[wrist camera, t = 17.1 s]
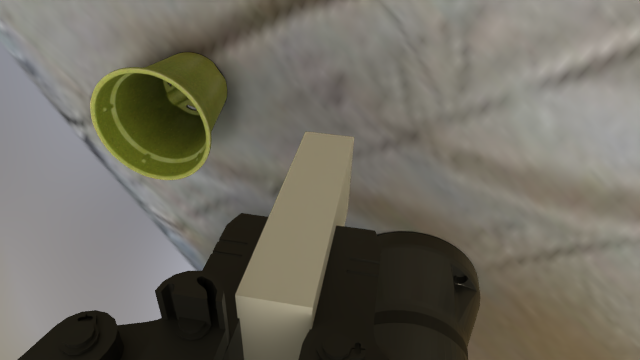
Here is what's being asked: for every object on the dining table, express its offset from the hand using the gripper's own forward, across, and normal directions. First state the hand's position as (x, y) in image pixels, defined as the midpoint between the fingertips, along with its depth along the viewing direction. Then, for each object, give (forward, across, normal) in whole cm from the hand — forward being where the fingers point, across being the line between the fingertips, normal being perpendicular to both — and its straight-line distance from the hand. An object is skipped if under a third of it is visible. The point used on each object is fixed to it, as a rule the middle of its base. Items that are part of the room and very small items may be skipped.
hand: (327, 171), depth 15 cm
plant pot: (+25, +16, +9) cm, 31 cm away
